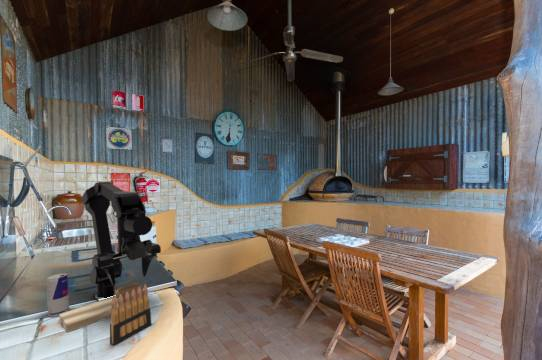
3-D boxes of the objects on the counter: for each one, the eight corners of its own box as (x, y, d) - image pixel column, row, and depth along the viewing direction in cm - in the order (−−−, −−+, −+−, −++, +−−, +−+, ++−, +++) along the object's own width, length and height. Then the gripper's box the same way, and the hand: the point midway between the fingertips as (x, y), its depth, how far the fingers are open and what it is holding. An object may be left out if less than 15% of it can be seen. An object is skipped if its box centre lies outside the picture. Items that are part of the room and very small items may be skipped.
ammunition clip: (113, 346, 66) (112, 299, 66) (109, 344, 67) (107, 297, 67) (151, 325, 75) (150, 283, 75) (147, 323, 76) (146, 282, 76)
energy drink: (70, 312, 84) (69, 275, 84) (49, 319, 81) (47, 280, 81) (67, 307, 88) (66, 271, 88) (46, 313, 84) (45, 276, 84)
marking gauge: (108, 305, 88) (107, 282, 88) (127, 299, 93) (126, 276, 93) (123, 317, 80) (122, 291, 80) (143, 309, 84) (142, 285, 84)
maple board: (59, 320, 79) (59, 313, 79) (135, 294, 96) (134, 289, 96) (67, 332, 73) (67, 325, 73) (147, 302, 90) (147, 296, 89)
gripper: (103, 241, 71) (105, 298, 71) (168, 229, 86) (169, 277, 86) (90, 236, 79) (92, 288, 79) (152, 226, 93) (154, 270, 93)
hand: (129, 280), depth 84 cm, fingers open, 9 cm apart
